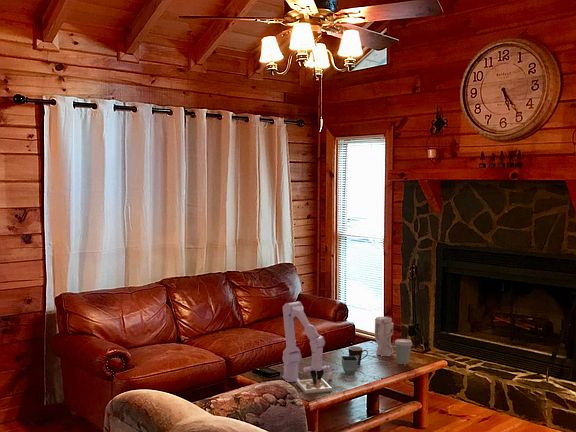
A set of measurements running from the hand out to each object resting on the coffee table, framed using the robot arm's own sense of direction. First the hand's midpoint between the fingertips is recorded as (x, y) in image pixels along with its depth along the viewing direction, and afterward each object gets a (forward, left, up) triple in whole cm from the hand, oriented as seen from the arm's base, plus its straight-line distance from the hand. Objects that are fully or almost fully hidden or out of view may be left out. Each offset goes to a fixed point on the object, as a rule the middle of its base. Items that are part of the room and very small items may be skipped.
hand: (316, 383), depth 330 cm
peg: (-13, +13, -3) cm, 18 cm away
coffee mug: (-34, +39, -4) cm, 52 cm away
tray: (-4, 0, -3) cm, 5 cm away
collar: (-2, 0, -2) cm, 3 cm away
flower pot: (-21, +28, -4) cm, 35 cm away
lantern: (-48, +63, -4) cm, 79 cm away
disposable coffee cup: (-29, +67, -4) cm, 73 cm away
